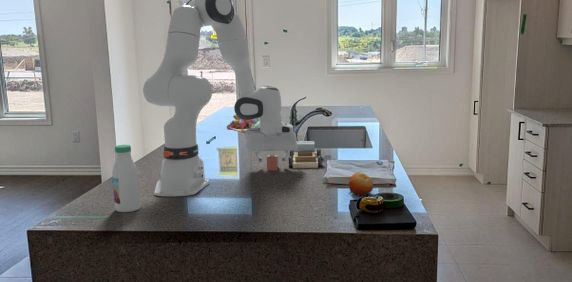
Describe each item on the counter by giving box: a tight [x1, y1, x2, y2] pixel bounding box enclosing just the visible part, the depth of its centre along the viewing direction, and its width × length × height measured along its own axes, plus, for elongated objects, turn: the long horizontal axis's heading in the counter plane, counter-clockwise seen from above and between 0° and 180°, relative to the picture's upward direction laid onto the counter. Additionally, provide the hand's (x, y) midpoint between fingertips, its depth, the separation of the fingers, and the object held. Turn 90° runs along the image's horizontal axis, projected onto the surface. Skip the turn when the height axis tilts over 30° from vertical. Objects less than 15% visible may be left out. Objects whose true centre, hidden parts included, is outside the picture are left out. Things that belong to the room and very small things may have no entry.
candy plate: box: [226, 113, 260, 133], centre depth 298 cm, size 25×24×9 cm
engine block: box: [266, 153, 279, 171], centre depth 203 cm, size 5×4×6 cm
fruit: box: [348, 172, 374, 197], centre depth 168 cm, size 8×8×8 cm
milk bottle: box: [111, 144, 142, 213], centre depth 157 cm, size 8×8×20 cm
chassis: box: [288, 140, 323, 169], centre depth 212 cm, size 20×13×7 cm, turn 178°
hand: (272, 161), depth 204 cm, fingers open, 8 cm apart
